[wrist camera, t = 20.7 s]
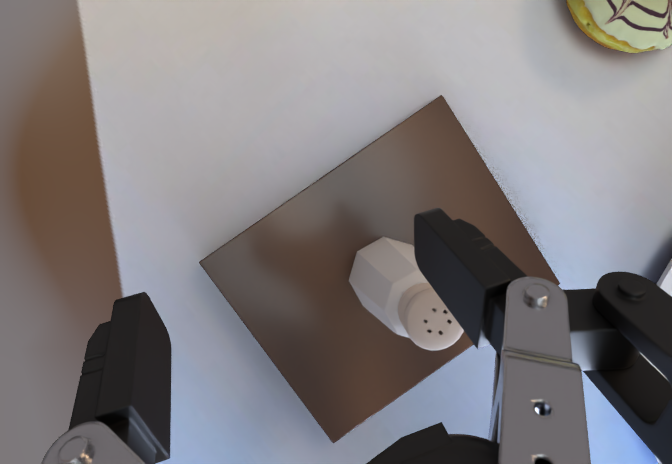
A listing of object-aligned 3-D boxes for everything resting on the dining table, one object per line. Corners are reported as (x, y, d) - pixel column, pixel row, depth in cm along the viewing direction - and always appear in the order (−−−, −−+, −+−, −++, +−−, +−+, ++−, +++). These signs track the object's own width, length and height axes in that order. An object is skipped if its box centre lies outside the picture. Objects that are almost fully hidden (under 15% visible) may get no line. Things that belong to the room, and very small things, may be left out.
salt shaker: (392, 328, 30) (445, 404, 19) (332, 282, 29) (350, 333, 18) (440, 267, 30) (521, 309, 19) (381, 220, 29) (429, 234, 18)
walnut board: (331, 432, 32) (333, 444, 30) (203, 259, 30) (198, 262, 28) (548, 279, 32) (560, 283, 31) (435, 99, 30) (442, 94, 29)
